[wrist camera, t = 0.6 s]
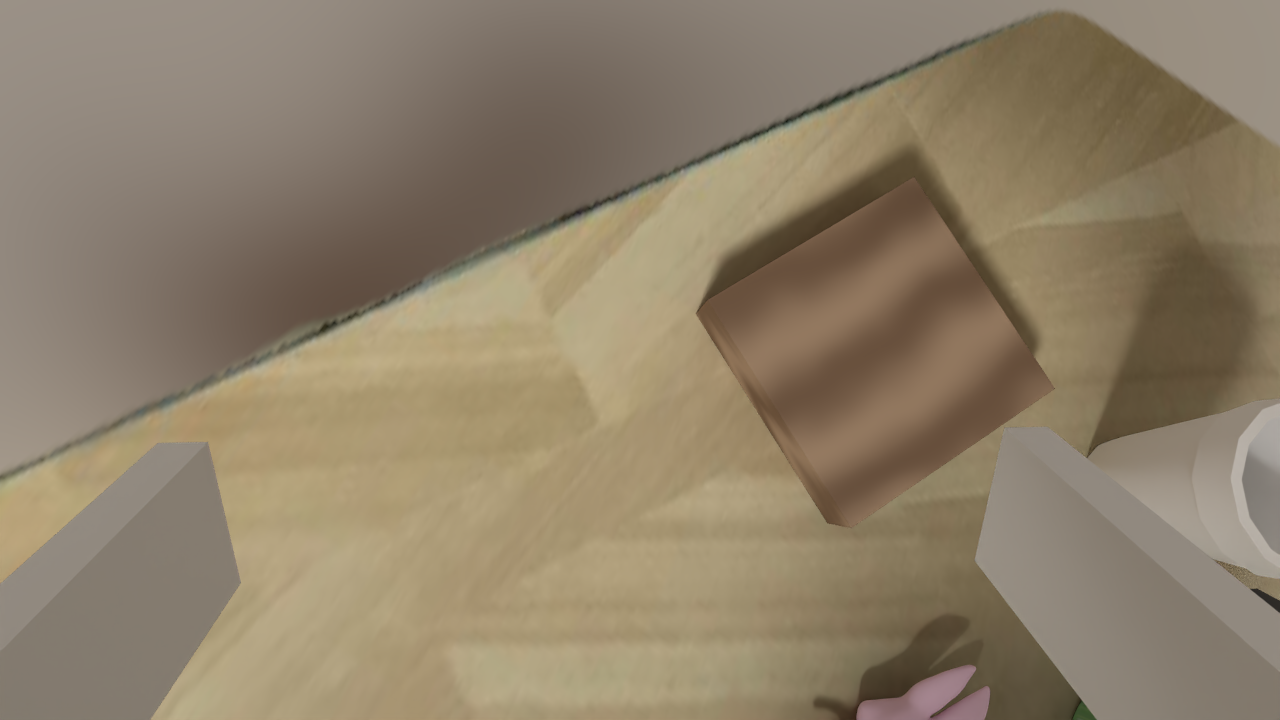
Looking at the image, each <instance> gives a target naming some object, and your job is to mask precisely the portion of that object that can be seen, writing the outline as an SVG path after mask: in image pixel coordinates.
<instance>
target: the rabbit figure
mask: <svg viewBox="0 0 1280 720" xmlns="http://www.w3.org/2000/svg"><path fill="white" fill-rule="evenodd" d="M975 671H976V667H975V666H973V665H964V666H961V667H957V668H954V669H951V670H948V671H944V672H942V673H939V674H937V675H935V676H932V677H929V678H926V679H924V680H922V681H920V682H918V683H916V684H915V685H914V686H912V687H911V688H910V689H909V690H908V692H907V693H906V694H905V695H903V696H901V697H898V698H888V699H877V700H866V701H863V702H862V703H861V704H860V705H859V707H858V710H857V720H984V719H985V717H986V714H987V710H988V706H989V700H990V689H989V687H988V686H984V687H983V688H981V689H979V690H978V691H976V692H974V693H972V694H970V695H968V696H966V697H965V698H963V699H962V700H960V701H958V702H957V703H955V704H953V705H952V706H950V707H948V708H947V709H945V710H944V711H942V712H941V713H939V714H938V715H936V716H934V717H930V716H931V715H932V714H934V713H935V712H937V711H939V710H940V709H942V708H943V707H944V706H945V705H946V704H947V703H948V702H950V701H951V700H952V699H954V698H955V697H956V696H957V695H958V694H959V693H960V692H961V691H962V690H963V689H964V687H965V686H966V684H967V682H968V681H969V679H970V678H971V676H972V675H973V674H974V672H975Z"/></svg>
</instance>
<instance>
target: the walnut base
mask: <svg viewBox="0 0 1280 720" xmlns="http://www.w3.org/2000/svg"><path fill="white" fill-rule="evenodd" d="M696 315H697V316H698V318H699V319H700V321H701V323H702V324H703V326H704V327H705V329H706V331H707V332H708V334H709V335H710V337H711V339H712V340H713V342H714V343H715V345H716V346H717V348H718V350H719V351H720V353H721V354H722V356H723V358H724V359H725V361H726V362H727V364H728V366H729V367H730V369H731V370H732V372H733V374H734V375H735V377H736V378H737V380H738V382H739V383H740V385H741V386H742V388H743V389H744V391H745V393H746V394H747V396H748V397H749V399H750V401H751V402H752V404H753V405H754V407H755V409H756V410H757V412H758V413H759V415H760V417H761V418H762V420H763V421H764V423H765V424H766V426H767V428H768V429H769V431H770V432H771V434H772V436H773V437H774V439H775V440H776V442H777V444H778V445H779V447H780V448H781V450H782V452H783V453H784V455H785V456H786V458H787V460H788V461H789V463H790V464H791V466H792V467H793V469H794V471H795V472H796V474H797V475H798V477H799V479H800V480H801V482H802V483H803V485H804V487H805V488H806V490H807V491H808V493H809V495H810V496H811V498H812V499H813V501H814V502H815V504H816V506H817V507H818V509H819V510H820V512H821V514H822V515H823V517H824V518H825V520H826V522H827V523H829V524H834V525H839V526H844V527H850V528H852V527H853V526H855V525H856V524H858V523H859V522H861V521H862V520H864V519H865V518H867V517H868V516H870V515H871V514H872V513H874V512H875V511H877V510H878V509H880V508H881V507H883V506H884V505H886V504H887V503H889V502H890V501H891V500H893V499H894V498H896V497H897V496H899V495H900V494H902V493H903V492H905V491H906V490H908V489H909V488H910V487H912V486H913V485H915V484H916V483H918V482H919V481H921V480H922V479H924V478H925V477H927V476H928V475H929V474H931V473H932V472H934V471H935V470H937V469H938V468H940V467H941V466H943V465H944V464H946V463H947V462H948V461H950V460H951V459H953V458H954V457H956V456H957V455H959V454H960V453H962V452H963V451H965V450H966V449H967V448H969V447H970V446H972V445H973V444H975V443H976V442H978V441H979V440H981V439H982V438H984V437H985V436H986V435H988V434H989V433H991V432H992V431H994V430H995V429H997V428H998V427H1000V426H1001V425H1003V424H1004V423H1005V422H1007V421H1008V420H1010V419H1011V418H1013V417H1014V416H1016V415H1017V414H1019V413H1020V412H1022V411H1023V410H1024V409H1026V408H1027V407H1029V406H1030V405H1032V404H1033V403H1035V402H1036V401H1038V400H1039V399H1041V398H1042V397H1043V396H1045V395H1046V394H1048V393H1049V392H1051V391H1052V390H1054V389H1055V388H1054V386H1053V385H1052V383H1051V382H1050V380H1049V379H1048V377H1047V376H1046V374H1045V373H1044V371H1043V370H1042V368H1041V367H1040V365H1039V364H1038V362H1037V361H1036V359H1035V358H1034V356H1033V355H1032V353H1031V352H1030V350H1029V349H1028V347H1027V346H1026V344H1025V343H1024V341H1023V340H1022V338H1021V337H1020V335H1019V334H1018V332H1017V331H1016V329H1015V328H1014V326H1013V325H1012V323H1011V322H1010V320H1009V319H1008V317H1007V316H1006V314H1005V313H1004V311H1003V310H1002V308H1001V307H1000V305H999V304H998V302H997V301H996V299H995V298H994V296H993V295H992V293H991V292H990V290H989V289H988V287H987V286H986V284H985V283H984V281H983V280H982V278H981V277H980V275H979V274H978V272H977V271H976V269H975V268H974V266H973V265H972V263H971V262H970V260H969V259H968V257H967V256H966V254H965V253H964V251H963V250H962V248H961V246H960V245H959V243H958V242H957V240H956V239H955V237H954V236H953V234H952V233H951V231H950V230H949V228H948V227H947V225H946V224H945V222H944V221H943V219H942V218H941V216H940V215H939V213H938V212H937V210H936V209H935V207H934V206H933V204H932V203H931V201H930V200H929V198H928V197H927V195H926V194H925V192H924V191H923V189H922V188H921V186H920V185H919V183H918V182H917V180H916V179H915V177H913V178H911V179H910V180H908V181H906V182H905V183H903V184H901V185H900V186H898V187H896V188H895V189H893V190H891V191H890V192H888V193H886V194H885V195H883V196H881V197H879V198H878V199H876V200H874V201H873V202H871V203H869V204H868V205H866V206H864V207H863V208H861V209H859V210H858V211H856V212H854V213H853V214H851V215H849V216H848V217H846V218H844V219H843V220H841V221H839V222H838V223H836V224H834V225H832V226H831V227H829V228H827V229H826V230H824V231H822V232H821V233H819V234H817V235H816V236H814V237H812V238H811V239H809V240H807V241H806V242H804V243H802V244H801V245H799V246H797V247H796V248H794V249H792V250H791V251H789V252H787V253H785V254H784V255H782V256H780V257H779V258H777V259H775V260H774V261H772V262H770V263H769V264H767V265H765V266H764V267H762V268H760V269H759V270H757V271H755V272H754V273H752V274H750V275H749V276H747V277H745V278H743V279H742V280H740V281H738V282H737V283H735V284H733V285H732V286H730V287H728V288H727V289H725V290H723V291H722V292H720V293H718V294H717V295H715V296H713V297H712V298H710V299H708V300H707V301H706V302H705V304H704V305H703V306H702V307H701V308H700V310H699V311H698V312H697V313H696Z"/></svg>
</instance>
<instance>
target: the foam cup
mask: <svg viewBox="0 0 1280 720" xmlns="http://www.w3.org/2000/svg"><path fill="white" fill-rule="evenodd" d="M1087 459H1088V460H1090V461H1091V462H1092V463H1093V464H1095V465H1096V466H1097V467H1098V468H1100V469H1101V470H1102V471H1103V472H1104V473H1106V474H1107V475H1108V476H1109V477H1111V478H1112V479H1113V480H1114V481H1116V482H1117V483H1118V484H1119V485H1121V486H1122V487H1123V488H1124V489H1126V490H1127V491H1128V492H1129V493H1131V494H1132V495H1133V496H1134V497H1136V498H1137V499H1138V500H1139V501H1141V502H1142V503H1143V504H1144V505H1146V506H1147V507H1148V508H1149V509H1151V510H1152V511H1153V512H1154V513H1156V514H1157V515H1158V516H1159V517H1161V518H1162V519H1163V520H1164V521H1166V522H1167V523H1168V524H1169V525H1171V526H1172V527H1173V528H1174V529H1176V530H1177V531H1178V532H1179V533H1181V534H1182V535H1183V536H1184V537H1185V538H1187V539H1188V540H1189V541H1190V542H1192V543H1193V544H1194V545H1195V546H1197V547H1198V548H1199V549H1200V550H1202V551H1203V552H1204V553H1205V554H1207V555H1208V556H1209V557H1210V558H1212V559H1214V560H1218V561H1221V562H1225V563H1228V564H1232V565H1235V566H1239V567H1242V568H1246V569H1247V570H1249V571H1250V572H1252V573H1253V574H1255V575H1258V576H1264V577H1271V578H1278V579H1280V398H1279V399H1269V400H1259V401H1253V402H1250V403H1248V404H1245V405H1242V406H1240V407H1237V408H1234V409H1232V410H1229V411H1226V412H1222V413H1218V414H1214V415H1210V416H1206V417H1202V418H1198V419H1194V420H1189V421H1185V422H1181V423H1177V424H1173V425H1169V426H1165V427H1161V428H1156V429H1152V430H1148V431H1144V432H1140V433H1136V434H1132V435H1128V436H1123V437H1120V438H1118V439H1113V440H1111V441H1108V442H1105V443H1103V444H1100V445H1098V446H1097V447H1096V448H1095V449H1094V450H1093V452H1092V453H1091V454H1090V455H1089V456H1088V457H1087Z"/></svg>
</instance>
